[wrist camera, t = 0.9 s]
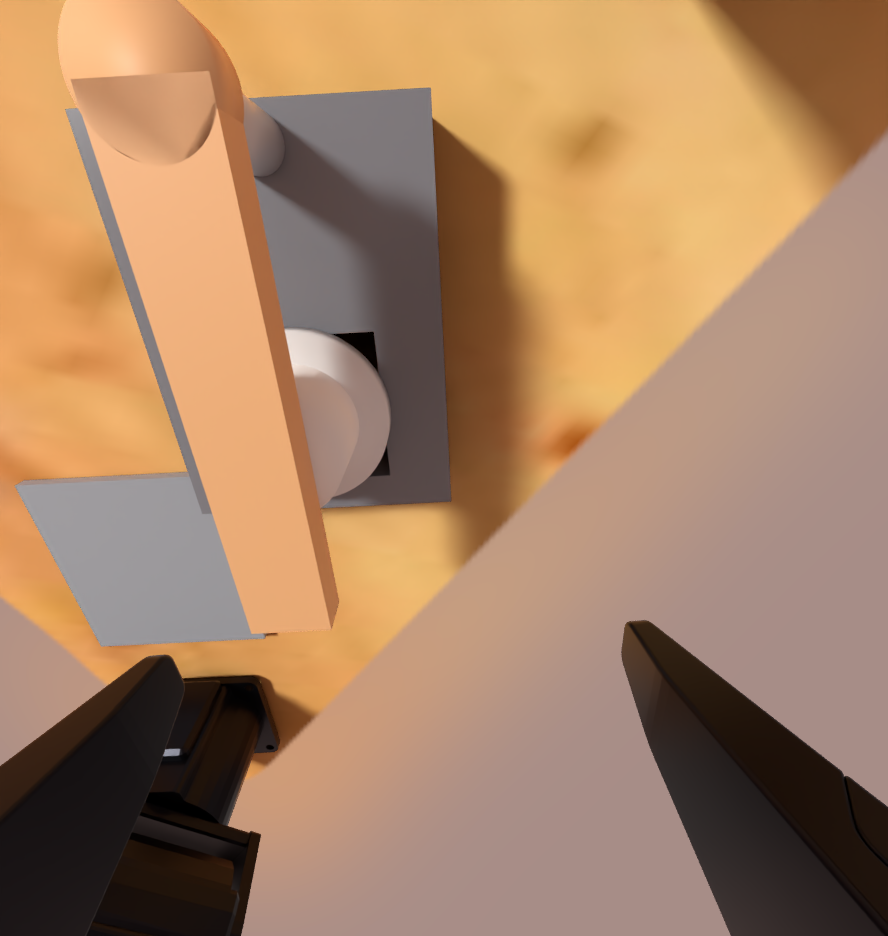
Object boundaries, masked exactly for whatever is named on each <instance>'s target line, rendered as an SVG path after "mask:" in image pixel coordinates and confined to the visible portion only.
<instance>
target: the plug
mask: <svg viewBox="0 0 888 936" xmlns="http://www.w3.org/2000/svg"><path fill="white" fill-rule="evenodd" d="M284 329H285V334H286V339H287V344H288V349H289V354H290V359H291V364H292V369H293V374H294V379H295V384H296V389H297V394H298V399H299V404H300V409H301V414H302V419H303V424H304V429H305V434H306V439H307V444H308V449H309V454H310V459H311V464H312V469H313V474H314V479H315V484H316V489H317V494H318V499H319V504H320V508H322V507H323V506H324V505H325V504H327V503H328V502H329V501H330V500H331V498H332V497H335V496H338V495H341V494H343V493H346V492H348V491H350V490H352V489H354V488H355V487H357V486H358V485H360V484H361V483H362V482H364V481H365V480H366V479H367V478H368V477H369V476H370V475H371V474H372V472H373V471H374V470H375V469H376V467H377V466H378V464H379V462H380V461H381V459H382V456H383V454H384V451H385V448H386V444H387V440H388V436H389V432H390V427H391V407H390V401H389V397H388V394H387V391H386V388H385V386H384V383H383V381H382V379H381V377H380V376H379V374H378V372H377V371H376V369H375V368H374V367H373V365H372V364H371V363H370V362H369V360H368V359H367V358H366V357H365V356H364V355H363V354H362V353H361V352H360V351H358V350H357V349H356V348H354V347H353V346H352V345H350V344H349V343H347V342H346V341H344V340H342V339H341V338H339V337H337V336H334V335H332V334H330V333H327V332H324V331H320V330H317V329H312V328H305V327H287V328H284Z"/></svg>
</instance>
